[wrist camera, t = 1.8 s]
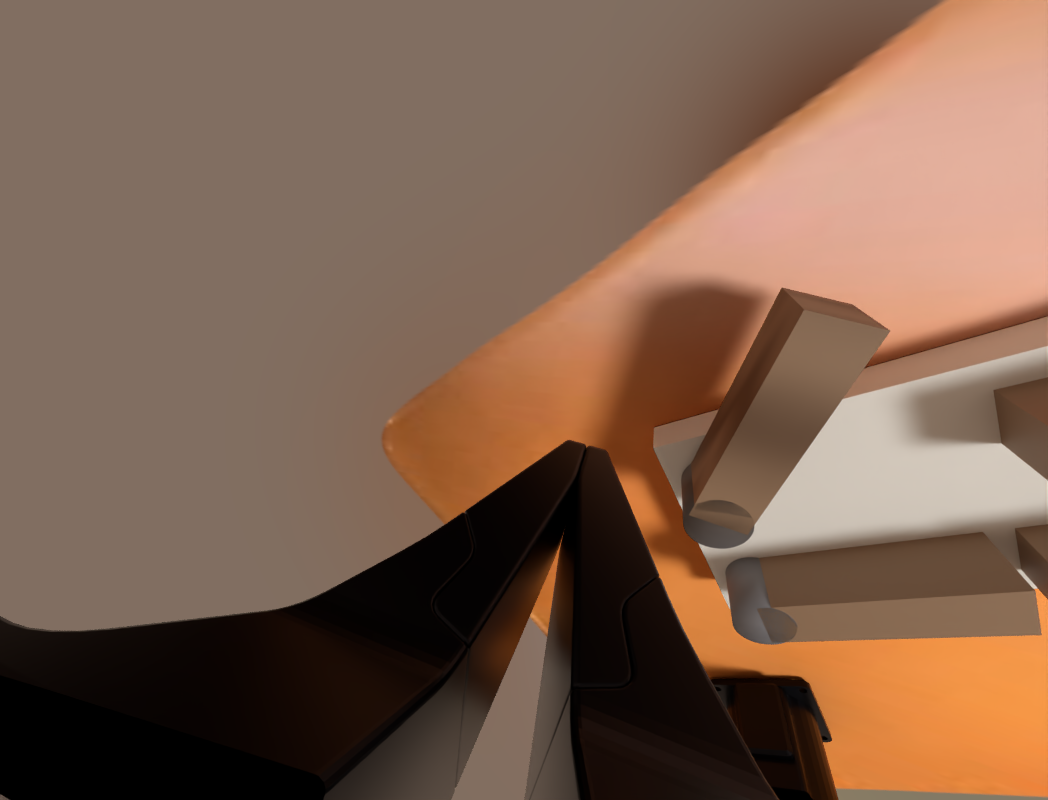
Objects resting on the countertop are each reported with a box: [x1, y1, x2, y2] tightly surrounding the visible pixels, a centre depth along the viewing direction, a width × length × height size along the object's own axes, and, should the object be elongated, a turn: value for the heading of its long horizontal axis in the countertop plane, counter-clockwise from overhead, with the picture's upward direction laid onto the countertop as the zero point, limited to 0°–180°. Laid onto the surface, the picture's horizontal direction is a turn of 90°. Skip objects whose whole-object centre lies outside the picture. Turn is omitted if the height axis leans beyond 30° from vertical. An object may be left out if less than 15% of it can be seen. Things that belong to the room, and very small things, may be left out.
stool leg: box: [681, 288, 890, 549], centre depth 17 cm, size 11×3×3 cm, turn 170°
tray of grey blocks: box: [653, 317, 1048, 644], centre depth 16 cm, size 12×24×5 cm, turn 120°
